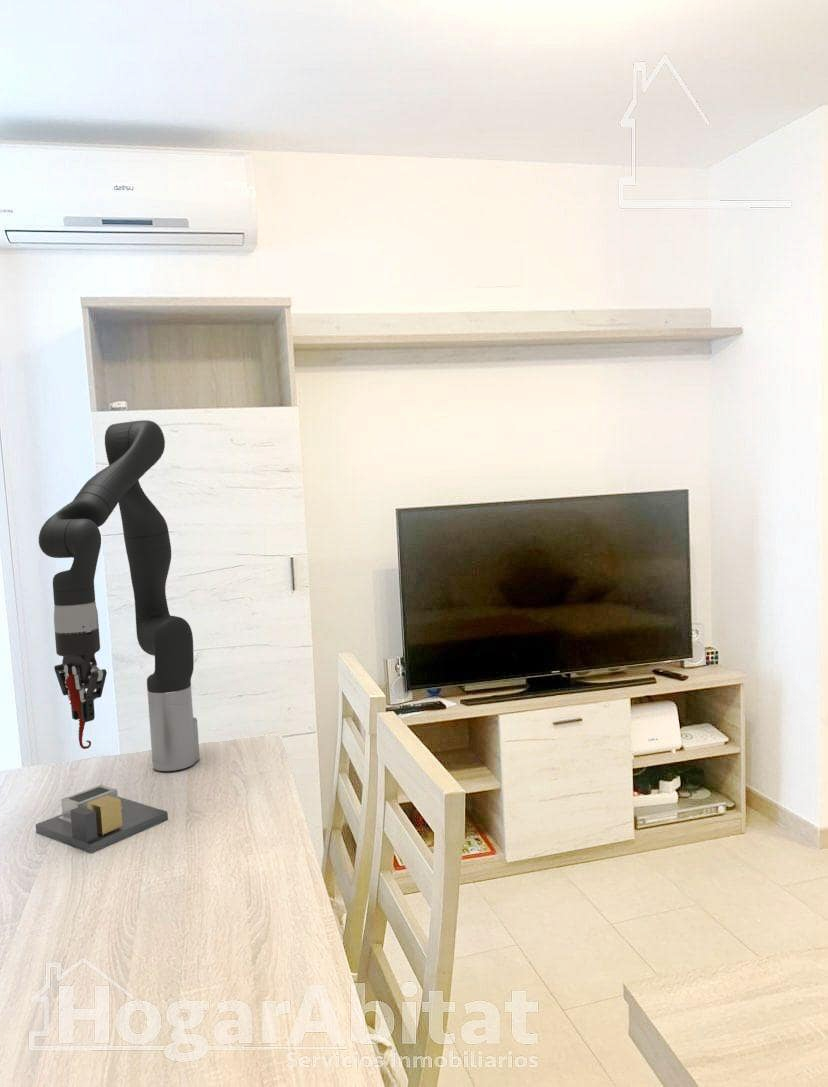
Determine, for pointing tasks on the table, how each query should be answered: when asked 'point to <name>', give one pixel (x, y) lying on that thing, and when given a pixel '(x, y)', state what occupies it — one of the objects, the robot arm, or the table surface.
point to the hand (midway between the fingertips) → (83, 719)
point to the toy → (76, 705)
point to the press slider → (107, 813)
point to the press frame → (82, 827)
